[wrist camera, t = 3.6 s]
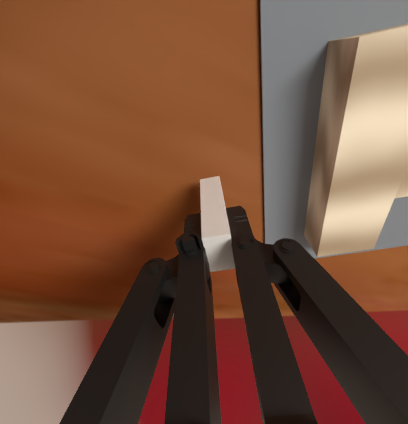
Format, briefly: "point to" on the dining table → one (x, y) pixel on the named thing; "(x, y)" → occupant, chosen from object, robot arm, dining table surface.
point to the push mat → (309, 104)
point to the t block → (359, 141)
